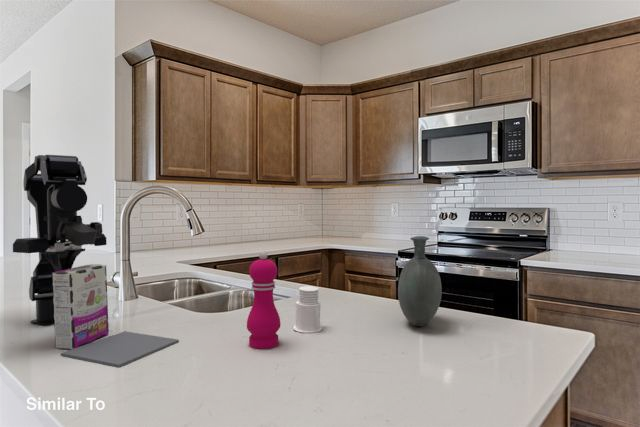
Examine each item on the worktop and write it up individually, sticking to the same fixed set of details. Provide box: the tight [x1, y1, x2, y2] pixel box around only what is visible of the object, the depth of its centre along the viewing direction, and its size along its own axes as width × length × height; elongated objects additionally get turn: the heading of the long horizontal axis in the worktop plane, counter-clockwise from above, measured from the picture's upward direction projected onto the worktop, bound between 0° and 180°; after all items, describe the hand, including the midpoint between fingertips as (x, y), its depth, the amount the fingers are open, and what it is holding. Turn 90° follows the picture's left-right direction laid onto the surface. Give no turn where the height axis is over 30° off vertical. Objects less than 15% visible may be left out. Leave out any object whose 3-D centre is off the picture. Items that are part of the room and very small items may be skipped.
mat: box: [60, 330, 180, 368], centre depth 92 cm, size 16×16×1 cm
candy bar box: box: [52, 263, 110, 350], centre depth 97 cm, size 11×5×16 cm, turn 168°
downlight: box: [292, 285, 323, 334], centre depth 106 cm, size 8×7×10 cm
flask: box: [397, 235, 443, 327], centre depth 109 cm, size 12×17×22 cm
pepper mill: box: [246, 251, 281, 350], centre depth 95 cm, size 7×7×20 cm
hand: (64, 280), depth 99 cm, fingers closed
